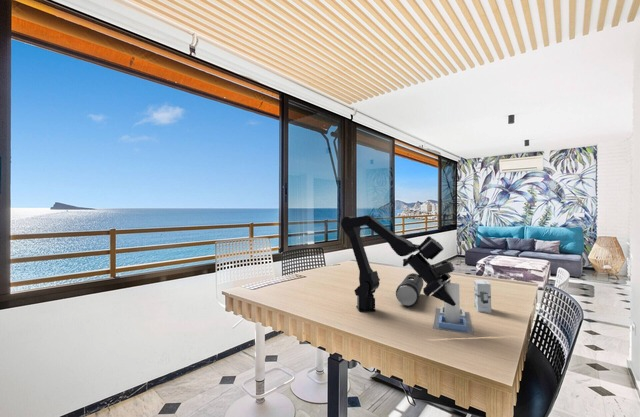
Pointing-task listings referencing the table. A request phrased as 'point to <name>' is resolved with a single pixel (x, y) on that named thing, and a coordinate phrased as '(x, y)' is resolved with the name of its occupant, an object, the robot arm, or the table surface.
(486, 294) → the ink box
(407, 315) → the table surface
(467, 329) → the duct plate
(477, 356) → the table surface
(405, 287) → the black silver cylinder
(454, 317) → the white piece
